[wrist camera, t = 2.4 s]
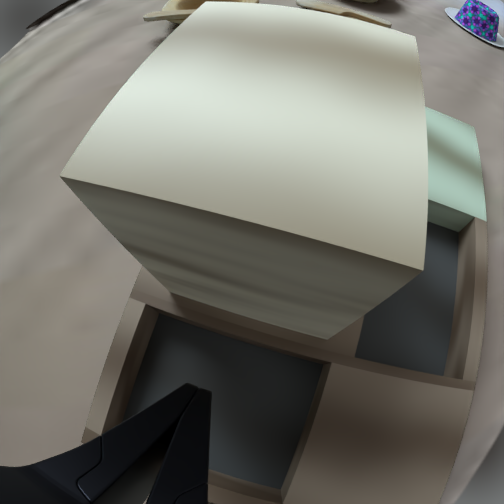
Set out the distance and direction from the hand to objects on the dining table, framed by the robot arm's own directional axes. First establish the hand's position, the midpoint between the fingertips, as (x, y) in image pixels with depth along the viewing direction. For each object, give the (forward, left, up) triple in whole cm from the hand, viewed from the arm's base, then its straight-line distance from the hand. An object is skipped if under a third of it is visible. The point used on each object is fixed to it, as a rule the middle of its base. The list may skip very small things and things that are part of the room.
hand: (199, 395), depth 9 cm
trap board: (+7, -6, -8) cm, 12 cm away
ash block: (+8, -2, -5) cm, 10 cm away
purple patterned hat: (+49, -36, -8) cm, 62 cm away
